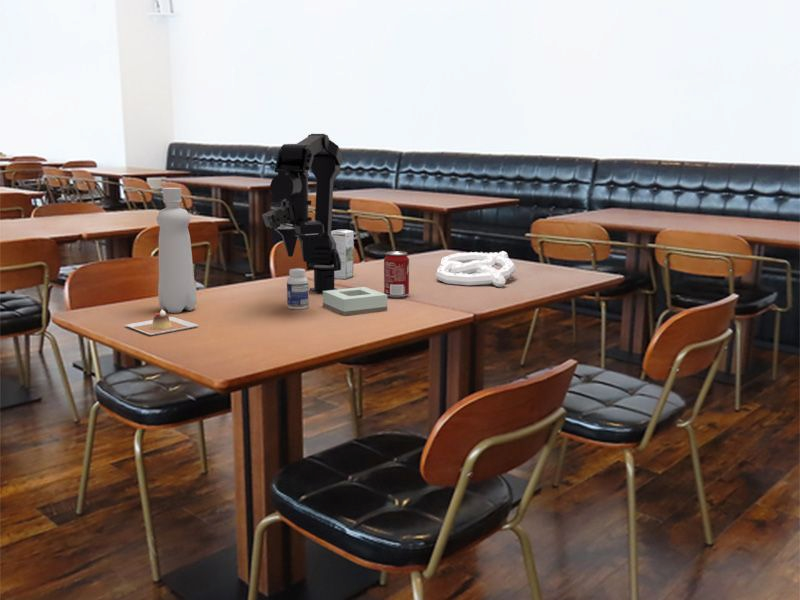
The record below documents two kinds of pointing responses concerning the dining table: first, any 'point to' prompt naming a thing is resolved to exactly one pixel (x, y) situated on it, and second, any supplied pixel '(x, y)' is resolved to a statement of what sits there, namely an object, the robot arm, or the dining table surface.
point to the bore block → (354, 300)
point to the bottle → (175, 256)
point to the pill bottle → (297, 289)
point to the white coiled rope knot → (475, 268)
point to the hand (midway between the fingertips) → (297, 259)
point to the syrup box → (344, 252)
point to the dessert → (162, 323)
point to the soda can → (396, 274)
